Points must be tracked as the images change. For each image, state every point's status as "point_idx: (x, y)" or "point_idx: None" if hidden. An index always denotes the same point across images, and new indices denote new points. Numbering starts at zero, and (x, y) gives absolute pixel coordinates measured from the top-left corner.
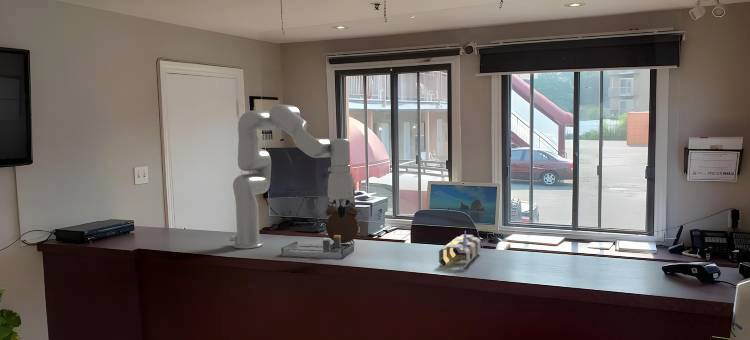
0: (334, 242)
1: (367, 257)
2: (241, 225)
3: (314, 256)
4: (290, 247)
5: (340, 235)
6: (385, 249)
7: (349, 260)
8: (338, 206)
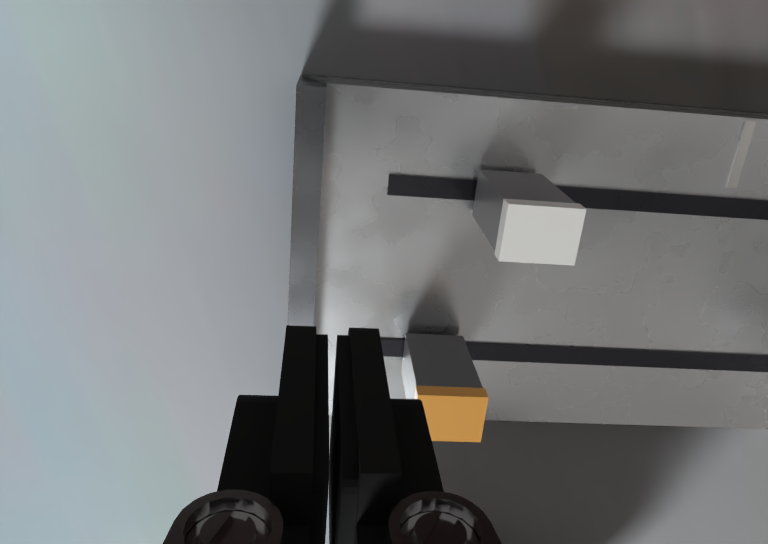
0: (464, 357)
1: (77, 163)
2: None
3: (605, 100)
4: None
5: None
6: (36, 487)
7: (215, 3)
8: (426, 515)
